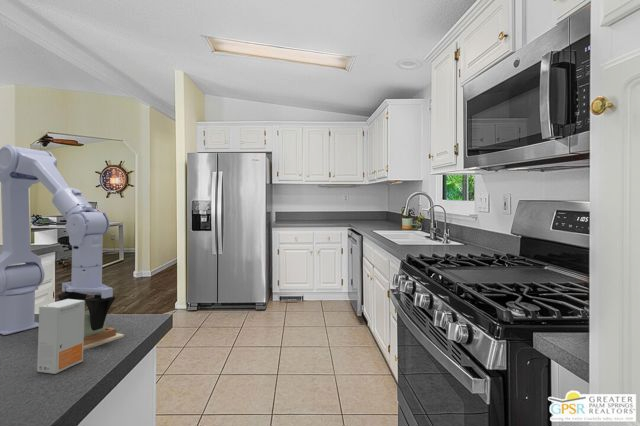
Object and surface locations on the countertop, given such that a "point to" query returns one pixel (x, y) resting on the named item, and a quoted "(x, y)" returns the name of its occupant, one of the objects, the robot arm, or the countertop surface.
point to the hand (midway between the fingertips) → (86, 326)
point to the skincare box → (60, 335)
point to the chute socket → (101, 338)
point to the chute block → (87, 325)
